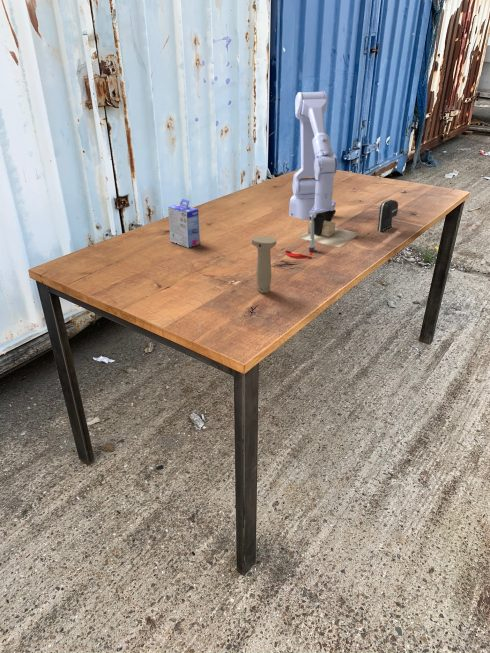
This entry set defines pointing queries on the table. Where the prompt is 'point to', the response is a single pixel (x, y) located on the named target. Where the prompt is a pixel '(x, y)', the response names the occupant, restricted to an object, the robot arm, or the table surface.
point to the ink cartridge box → (184, 224)
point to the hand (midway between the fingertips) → (321, 232)
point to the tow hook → (312, 242)
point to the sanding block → (326, 229)
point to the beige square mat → (332, 237)
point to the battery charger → (387, 215)
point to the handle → (263, 261)
